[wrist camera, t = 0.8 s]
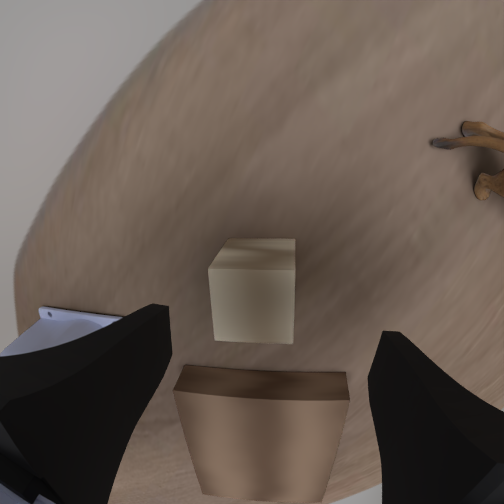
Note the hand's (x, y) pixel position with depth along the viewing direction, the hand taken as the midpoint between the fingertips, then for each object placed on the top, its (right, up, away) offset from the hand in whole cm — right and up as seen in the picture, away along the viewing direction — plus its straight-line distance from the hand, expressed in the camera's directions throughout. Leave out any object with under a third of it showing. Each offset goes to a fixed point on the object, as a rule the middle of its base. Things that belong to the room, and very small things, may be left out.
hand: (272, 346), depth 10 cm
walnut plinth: (0, -13, +15) cm, 20 cm away
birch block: (0, +2, +10) cm, 10 cm away
